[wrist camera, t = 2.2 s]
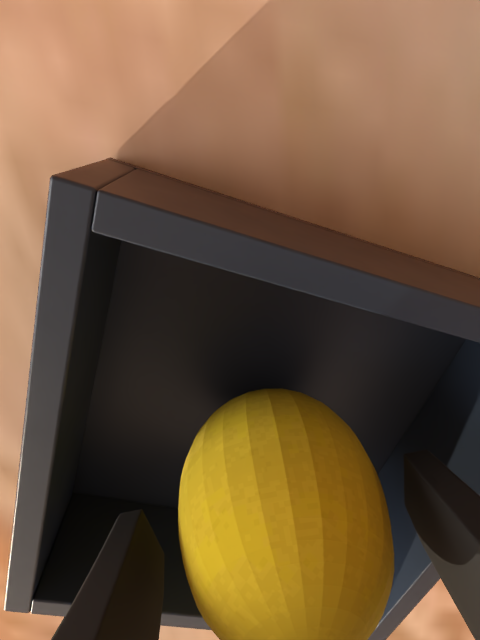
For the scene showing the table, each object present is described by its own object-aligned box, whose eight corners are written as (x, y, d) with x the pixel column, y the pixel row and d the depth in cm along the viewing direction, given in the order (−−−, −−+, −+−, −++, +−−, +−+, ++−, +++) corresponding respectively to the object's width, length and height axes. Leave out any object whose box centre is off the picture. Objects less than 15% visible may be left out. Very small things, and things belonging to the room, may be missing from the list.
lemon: (209, 326, 13) (207, 587, 5) (359, 363, 14) (524, 621, 6) (170, 449, 15) (134, 746, 8) (302, 472, 16) (378, 752, 9)
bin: (511, 288, 13) (638, 356, 9) (344, 537, 19) (380, 646, 15) (109, 157, 10) (48, 173, 7) (53, 493, 16) (2, 612, 12)
